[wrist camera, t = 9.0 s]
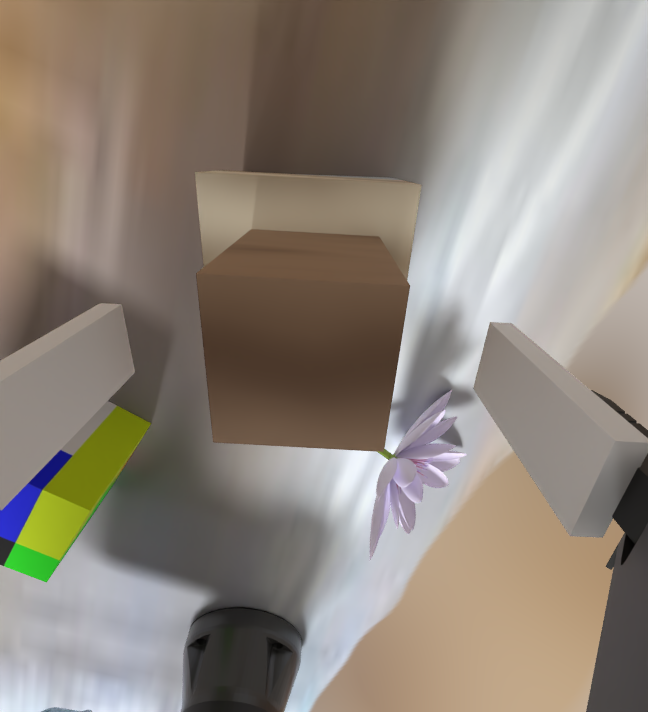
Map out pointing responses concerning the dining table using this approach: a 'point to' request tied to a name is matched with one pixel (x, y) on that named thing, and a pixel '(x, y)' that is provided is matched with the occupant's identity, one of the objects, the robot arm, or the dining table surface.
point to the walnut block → (302, 339)
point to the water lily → (413, 470)
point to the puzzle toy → (67, 492)
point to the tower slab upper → (305, 208)
